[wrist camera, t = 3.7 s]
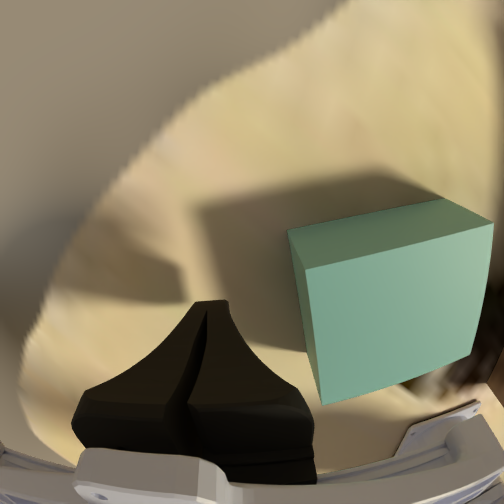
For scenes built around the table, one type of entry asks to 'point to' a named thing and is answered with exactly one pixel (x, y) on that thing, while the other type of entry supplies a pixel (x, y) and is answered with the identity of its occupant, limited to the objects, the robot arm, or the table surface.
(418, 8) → the table surface
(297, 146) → the table surface
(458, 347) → the teal block
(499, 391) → the walnut board
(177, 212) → the table surface
